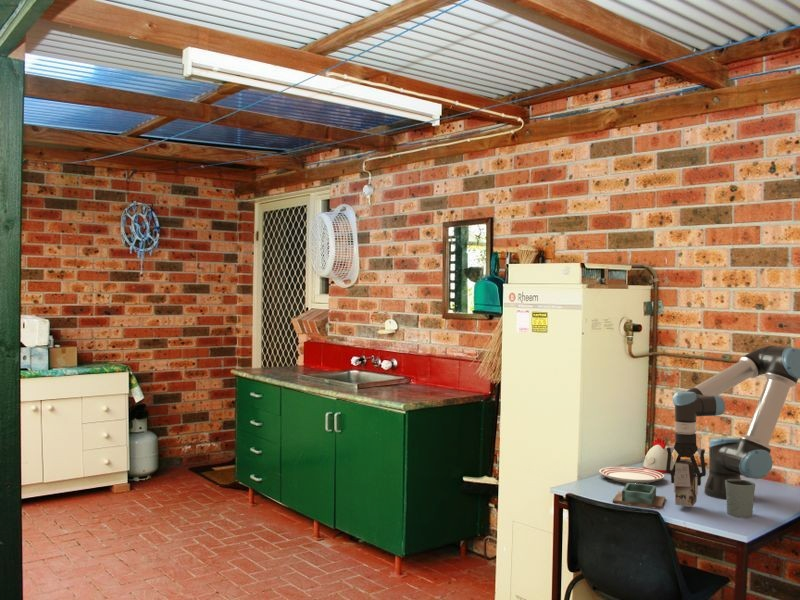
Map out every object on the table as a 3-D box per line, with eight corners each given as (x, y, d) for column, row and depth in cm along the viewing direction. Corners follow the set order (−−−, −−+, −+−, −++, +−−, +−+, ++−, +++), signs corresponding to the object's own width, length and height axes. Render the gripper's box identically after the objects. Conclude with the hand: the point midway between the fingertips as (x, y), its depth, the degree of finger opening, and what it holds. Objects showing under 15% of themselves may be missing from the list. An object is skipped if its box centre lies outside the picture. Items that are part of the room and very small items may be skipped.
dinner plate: (601, 470, 344) (601, 463, 344) (664, 475, 335) (664, 468, 335) (596, 484, 318) (596, 476, 318) (664, 489, 309) (664, 482, 309)
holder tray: (665, 499, 294) (665, 486, 294) (661, 508, 280) (661, 495, 280) (618, 493, 301) (618, 481, 301) (612, 502, 288) (612, 489, 288)
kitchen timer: (658, 474, 335) (658, 441, 335) (636, 468, 348) (637, 436, 348) (681, 472, 341) (681, 439, 341) (659, 466, 354) (659, 434, 354)
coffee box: (692, 507, 276) (692, 464, 276) (674, 505, 279) (674, 462, 279) (697, 501, 284) (697, 459, 284) (679, 499, 287) (679, 457, 287)
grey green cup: (722, 515, 272) (723, 482, 272) (726, 509, 280) (727, 477, 280) (753, 520, 266) (753, 486, 266) (756, 513, 275) (756, 481, 275)
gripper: (657, 432, 282) (657, 492, 282) (713, 436, 274) (713, 498, 274) (659, 429, 289) (659, 487, 289) (714, 432, 281) (714, 493, 281)
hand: (685, 492), depth 282 cm, fingers closed on coffee box, 7 cm apart
